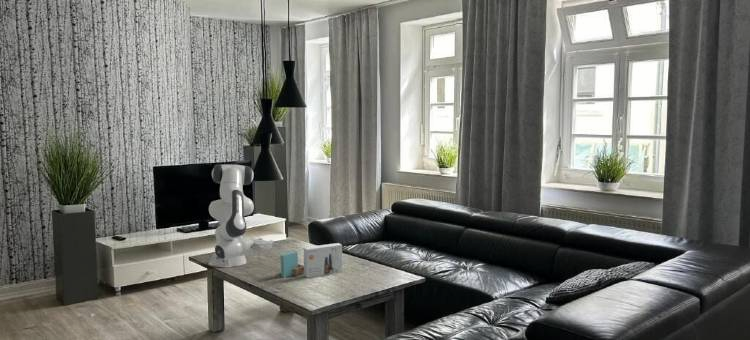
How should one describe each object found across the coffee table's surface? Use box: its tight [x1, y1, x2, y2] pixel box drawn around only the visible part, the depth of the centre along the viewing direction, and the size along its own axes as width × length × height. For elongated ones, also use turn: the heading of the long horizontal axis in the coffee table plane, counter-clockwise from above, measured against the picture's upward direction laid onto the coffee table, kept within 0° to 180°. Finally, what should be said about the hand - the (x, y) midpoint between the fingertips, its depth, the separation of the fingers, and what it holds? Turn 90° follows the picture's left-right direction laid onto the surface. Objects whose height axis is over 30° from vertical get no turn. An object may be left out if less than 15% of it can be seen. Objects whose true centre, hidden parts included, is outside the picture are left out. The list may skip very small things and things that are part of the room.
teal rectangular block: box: [279, 251, 299, 278], centre depth 317 cm, size 10×2×12 cm, turn 140°
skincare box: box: [303, 242, 343, 279], centre depth 317 cm, size 21×5×16 cm, turn 117°
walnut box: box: [292, 263, 304, 277], centre depth 321 cm, size 8×11×4 cm
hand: (267, 240), depth 304 cm, fingers open, 8 cm apart
